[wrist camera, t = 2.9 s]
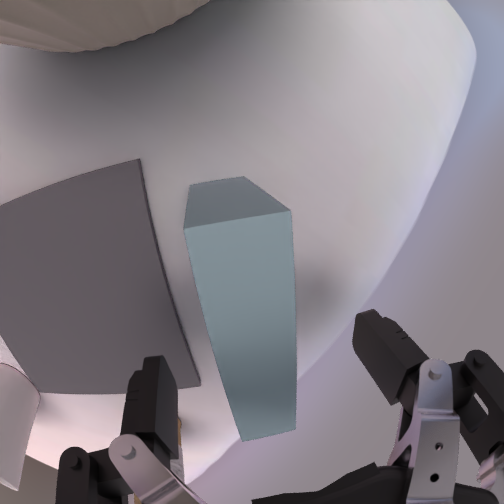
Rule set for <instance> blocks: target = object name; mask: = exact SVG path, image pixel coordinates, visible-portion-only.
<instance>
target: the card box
mask: <svg viewBox="0 0 504 504" xmlns="http://www.w3.org/2000/svg"><path fill="white" fill-rule="evenodd" d="M184 234H185V239H186V244H187V248H188V253H189V257H190V262H191V266H192V271H193V275H194V279H195V284H196V288H197V292H198V296H199V300H200V304H201V308H202V312H203V316H204V320H205V323H206V327H207V331H208V335H209V338H210V342H211V345H212V349H213V352H214V356H215V359H216V363H217V366H218V370H219V373H220V376H221V380H222V383H223V386H224V389H225V392H226V395H227V399H228V402H229V405H230V408H231V411H232V414H233V417H234V420H235V423H236V426H237V429H238V431H239V434H240V437H241V440H242V442H244V441H249V440H254V439H258V438H263V437H268V436H272V435H276V434H280V433H284V432H288V431H292V430H295V429H296V382H297V355H296V300H295V272H294V251H293V232H292V216H291V210H289V209H288V208H287V207H285V206H284V205H283V204H281V203H280V202H279V201H277V200H276V199H275V198H273V197H272V196H271V195H269V194H268V193H266V192H265V191H264V190H262V189H261V188H260V187H258V186H257V185H255V184H254V183H253V182H251V181H250V180H248V179H247V178H246V177H244V176H243V177H236V178H229V179H222V180H216V181H210V182H204V183H198V184H193V185H190V188H189V194H188V201H187V207H186V214H185V221H184Z"/></svg>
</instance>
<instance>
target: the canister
mask: <svg viewBox="0 0 504 504" xmlns="http://www.w3.org/2000/svg"><path fill="white" fill-rule="evenodd" d="M209 1H210V0H0V44H7V45H14V46H20V47H26V48H32V49H39V50H44V51H49V52H72V53H76V52H81V51H84V50H91V51H94V50H99V49H101V48H103V47H108V46H112V47H114V46H117V45H119V44H121V43H123V42H127V41H134V40H136V39H138V38H139V37H141V36H144V35H146V34H152V33H155V32H156V31H157V30H159V29H161V28H163V27H165V26H168V25H172V24H174V23H175V21H177V20H178V19H180V18H182V17H184V16H188V15H190V14H191V13H192V12H193V11H194V10H195V9H197V8H198V7H200V6H203V5H205V4H207V3H208V2H209Z"/></svg>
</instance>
